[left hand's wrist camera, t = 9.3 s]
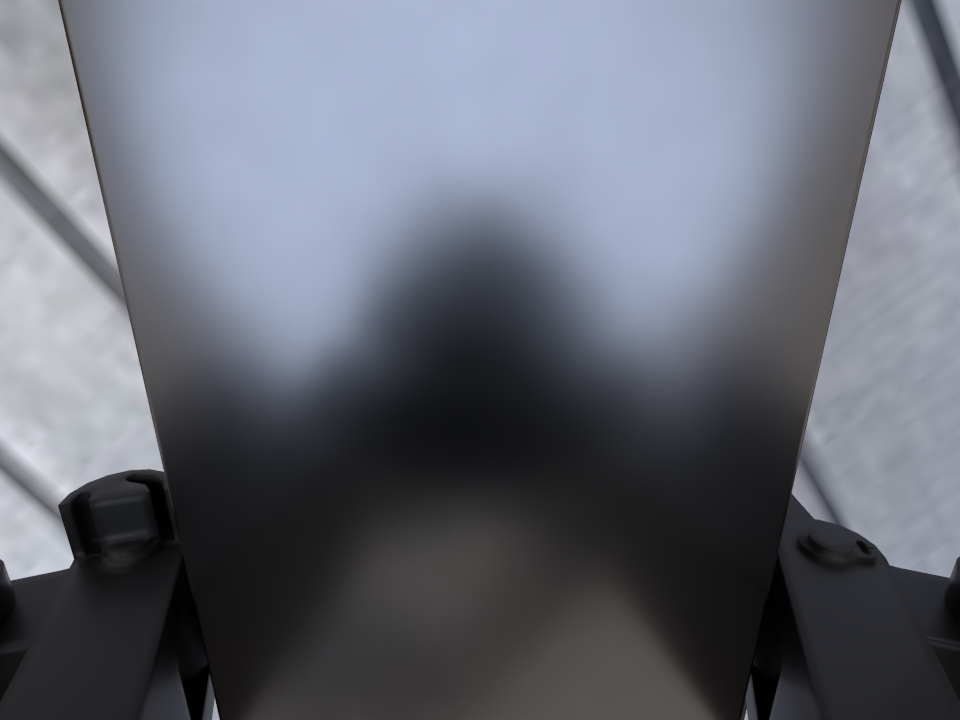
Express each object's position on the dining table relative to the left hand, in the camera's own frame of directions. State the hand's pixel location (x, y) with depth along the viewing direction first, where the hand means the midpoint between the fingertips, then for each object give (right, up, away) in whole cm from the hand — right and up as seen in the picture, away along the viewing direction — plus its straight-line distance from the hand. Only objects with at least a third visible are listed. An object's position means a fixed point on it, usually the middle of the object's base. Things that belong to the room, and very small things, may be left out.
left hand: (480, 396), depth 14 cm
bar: (0, +9, -3) cm, 9 cm away
